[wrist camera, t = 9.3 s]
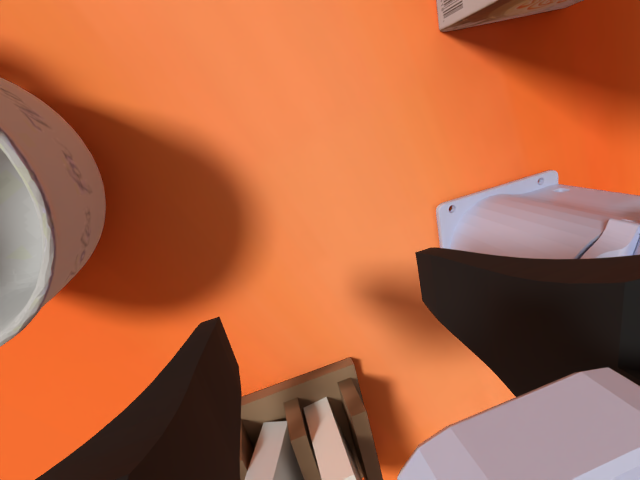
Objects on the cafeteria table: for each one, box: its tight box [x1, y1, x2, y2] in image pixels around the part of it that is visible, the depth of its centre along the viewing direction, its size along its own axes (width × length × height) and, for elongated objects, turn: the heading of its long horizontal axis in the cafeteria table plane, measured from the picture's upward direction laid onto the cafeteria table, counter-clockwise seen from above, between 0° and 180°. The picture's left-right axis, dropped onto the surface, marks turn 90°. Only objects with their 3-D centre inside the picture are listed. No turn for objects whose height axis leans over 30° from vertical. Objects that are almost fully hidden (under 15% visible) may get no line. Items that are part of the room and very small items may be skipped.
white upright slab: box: [304, 397, 362, 480], centre depth 23 cm, size 2×7×6 cm, turn 20°
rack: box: [240, 357, 383, 480], centre depth 24 cm, size 10×11×4 cm
